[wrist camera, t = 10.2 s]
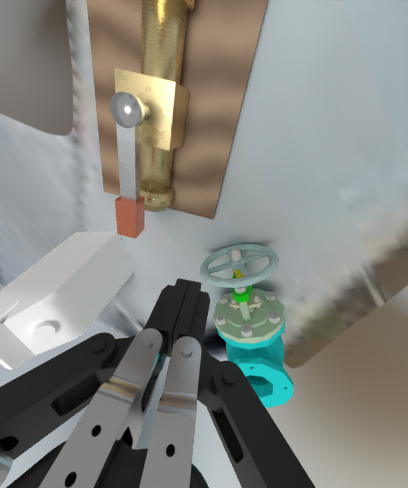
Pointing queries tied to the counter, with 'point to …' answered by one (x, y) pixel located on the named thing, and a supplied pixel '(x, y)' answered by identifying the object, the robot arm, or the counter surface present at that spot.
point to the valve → (252, 323)
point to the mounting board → (192, 78)
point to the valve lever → (128, 163)
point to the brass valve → (159, 95)
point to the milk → (60, 295)
